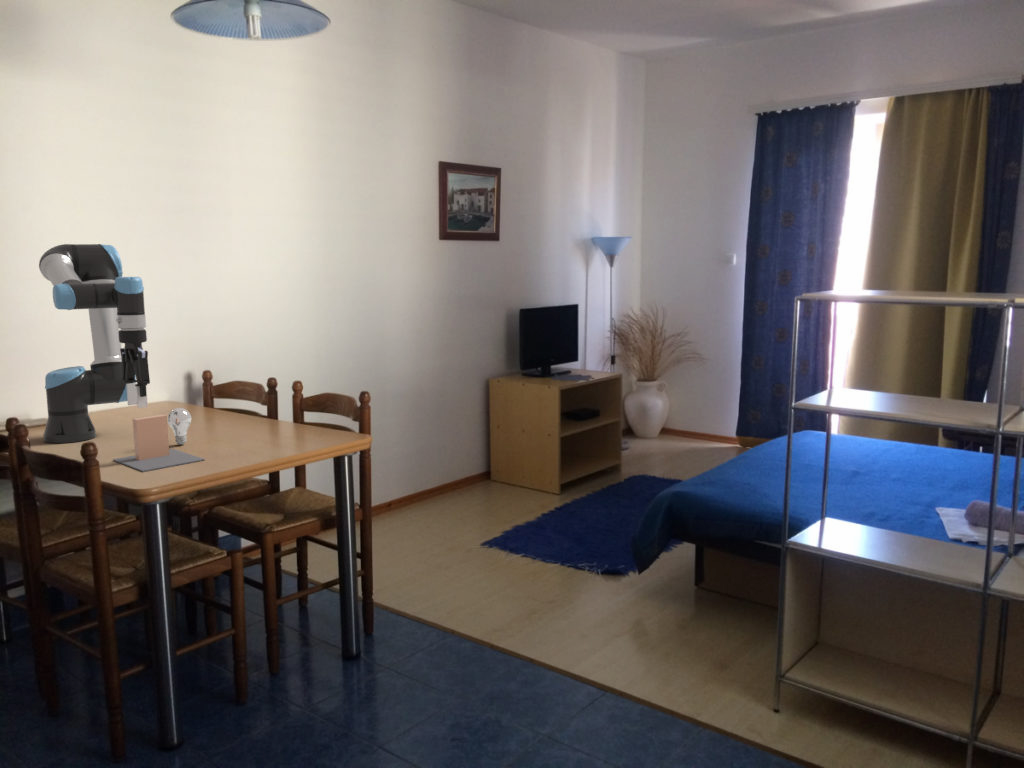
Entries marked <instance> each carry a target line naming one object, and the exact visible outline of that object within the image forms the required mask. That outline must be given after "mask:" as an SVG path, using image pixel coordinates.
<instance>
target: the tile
mask: <svg viewBox="0 0 1024 768" xmlns="http://www.w3.org/2000/svg"><path fill="white" fill-rule="evenodd" d="M132 428H133V431H132V432H133V441H134V456H135V458H136V459H137V460H144V459H150V458H155V457H161V456H167V455H169V449H170V443H169V431H168V430H169V429H168V416H167V415H165V414H157V415H152V416H145V417H144V416H142V417H137V418H132Z"/></svg>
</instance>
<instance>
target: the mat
mask: <svg viewBox="0 0 1024 768" xmlns="http://www.w3.org/2000/svg"><path fill="white" fill-rule="evenodd" d="M202 460H204V461H205V458H204V457H203V458H202V457H200V456H196V455H193V454H189V453H187V452H184V451H181V450H178V449H175V448H169V455H167V456H161V457H155V458H150V459H144V460H137V459H136V458H135V455H131V456H125V457H119V458H113V462H116V463H119V464H121V465H124V466H127V467H129V468H131V469H134V470H137V471H139V472H142V473H145V472H151V471H155V470H161V469H166V468H173V467H178V466H183V465H188V464H193V462H194V463H198V461H199V462H203V461H202Z"/></svg>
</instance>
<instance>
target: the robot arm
mask: <svg viewBox="0 0 1024 768" xmlns="http://www.w3.org/2000/svg"><path fill="white" fill-rule="evenodd" d="M38 268H39V271H40V273H41V275H42V276H43V278H44V279H46V280H47V281H49V282H50V283H51V284H52V286H53V287H52V299H53V300H52V301H53V305H54V307H55V309H56V310H67V311H73V310H88V315H89V316H88V317H89V325H90V333H91V340H92V349H93V357H94V358H93V359H94V360H93V361H92V362H91V363H90V369H88V370H87V369H86V368H85V367H84V366H82V365H81V366H80V365H78V366H69V367H62V368H59V369H55V370H51V371H49V372H47V373H46V375H45V377H44V378H45V379H44V380H45V381H44V382H45V386H44V389H45V392H46V393H45V395H46V404H47V405H46V407H47V408H46V409H47V420H46V425H45V428H44V432H43V441H44V442H46V443H51V444H65V443H66V444H69V443H77V442H84V441H87V440H88V441H89V440H91V439H94V438H96V437H97V434H96V433H97V432H96V429H95V426H94V423H93V422H92V419H91V417H90V415H89V409H88V406H95V405H105V404H113V403H115V404H119V403H123V402H127V406H134V405H135V406H136V405H137V408H138V409H141V408H148V406H149V405H148V394H147V393H148V391H147V386H148V385H149V384H150V383H151V380H150V378H151V377H150V369H149V359H148V355H149V352H148V350H144V348H143V343H146V342H147V341H148V337H147V330H146V329H145V328H146V327H147V323H146V322H147V320H146V314H145V313H146V312H145V311H146V310H145V296H144V294H145V293H144V290H145V288H144V284H143V279H142V278H141V276H123V273H124V272H123V265H122V261H121V257H120V254H119V251H118V250H117V248H116V247H115V246H113V245H111V244H102V243H97V244H96V243H93V244H86V243H84V244H83V243H81V244H80V243H79V244H77V243H74V244H71V243H64V244H58V245H55V246H54V247H51V248H50V249H49V248H48V250H46V251H45V252H44V253H43V254H42V255H41V256H40V258H39V262H38ZM122 344H124V347H122Z"/></svg>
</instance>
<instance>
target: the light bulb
mask: <svg viewBox="0 0 1024 768" xmlns="http://www.w3.org/2000/svg"><path fill="white" fill-rule="evenodd" d="M191 422H192V414H191V413H190V412H189V410H187V409H186V408H183V407H176V408H173V409H172V410H171V411H170V412H169V414H168V416H167V424H168V425H169V427H170V428H171V429H172V431H173V435H174V438H175V443H176V444H177V445H178V446H184V445H185V443H187V442H188V441H187V434H188V430H189V428H190V425H191Z"/></svg>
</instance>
